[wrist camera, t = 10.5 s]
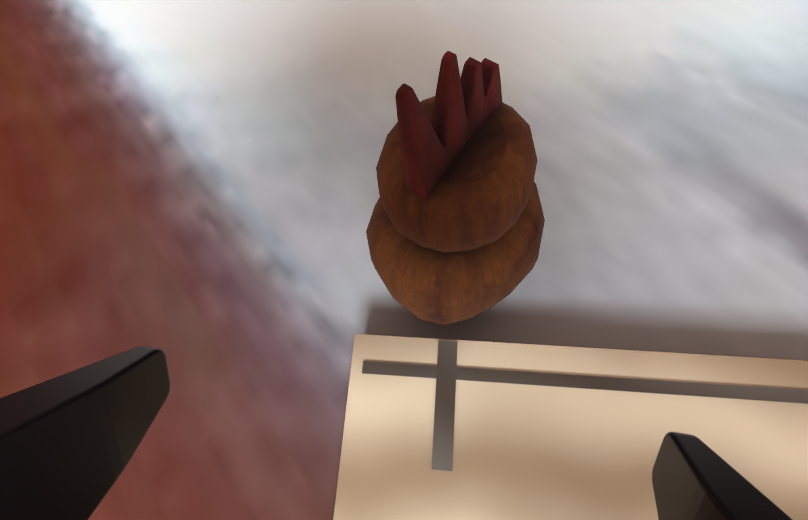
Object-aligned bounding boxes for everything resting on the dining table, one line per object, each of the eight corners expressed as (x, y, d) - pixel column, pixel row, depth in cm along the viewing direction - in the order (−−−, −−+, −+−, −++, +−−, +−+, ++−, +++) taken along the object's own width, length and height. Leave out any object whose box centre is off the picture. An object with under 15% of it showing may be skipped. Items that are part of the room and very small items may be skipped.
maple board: (900, 701, 17) (959, 734, 15) (331, 629, 19) (317, 650, 17) (826, 371, 21) (865, 363, 19) (362, 343, 23) (354, 333, 21)
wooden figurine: (425, 362, 23) (387, 216, 9) (364, 263, 25) (254, 15, 11) (547, 287, 23) (692, 41, 9) (478, 197, 25) (513, -114, 11)
